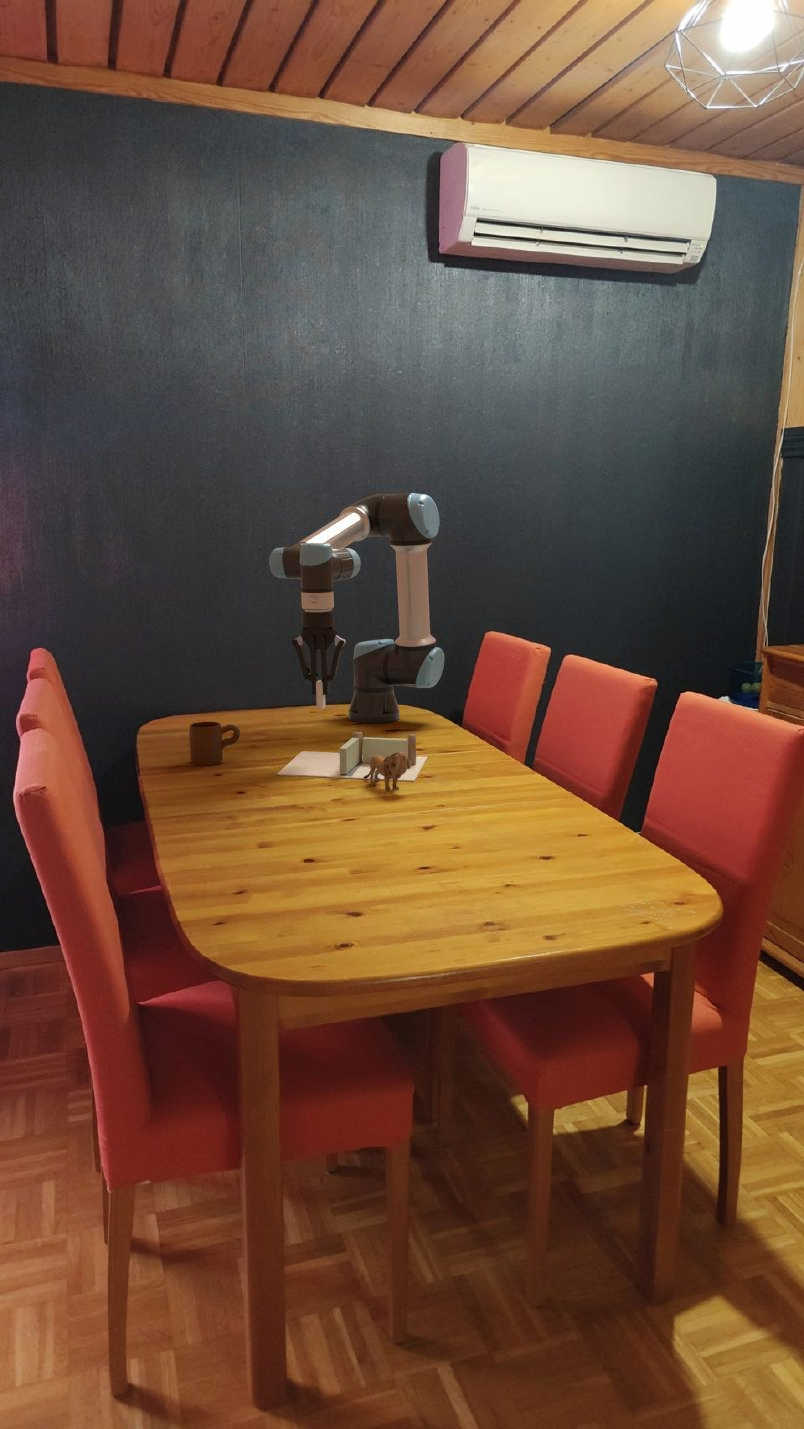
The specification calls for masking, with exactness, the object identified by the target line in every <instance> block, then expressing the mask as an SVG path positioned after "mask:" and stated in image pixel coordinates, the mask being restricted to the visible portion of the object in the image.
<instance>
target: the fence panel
mask: <svg viewBox="0 0 804 1429" xmlns="http://www.w3.org/2000/svg"><path fill="white" fill-rule="evenodd" d="M339 753H340V774H347V773H348V772H349V771H350V770H352V769H353V768H354V767H355V766H356V765H357V764H358V763H359V738H350V739H349V740H348V741H346V742H345V743H344V744H343V745H342V746H340V747H339Z"/></svg>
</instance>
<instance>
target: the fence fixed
mask: <svg viewBox="0 0 804 1429" xmlns="http://www.w3.org/2000/svg"><path fill="white" fill-rule="evenodd" d="M351 733H352V734H351V735H352V736H351V737H352V738H359V763H361V762H363V763H370V762H371V758H372V757H373V756H374V755H376V754H377V755H381V756H383V758H384V759H386V757H387V756H390V755H392V754H394V753H397V752H405V754H406V757H407V758H408V759H409V760H411V761H412V765H416V756H417V734H415V733H409V734H408V735H407V738H392V737H391V738H389V737H370V736H369V737H367V736H366V737H365V736H363V732H362V731H353V732H351ZM352 738H351V739H352ZM362 754H363V759H362Z"/></svg>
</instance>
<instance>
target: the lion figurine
mask: <svg viewBox="0 0 804 1429" xmlns="http://www.w3.org/2000/svg"><path fill="white" fill-rule="evenodd" d="M411 765H412V761H411V760H409V759H408V758H407V757H406V754H405V752H397V753H394V754H392V755H390V756H387V757H386V759H384V758H383V756H381V755H377V754H376V755H374V756H373V757H372V758H371V762H370V769H371V770H370V772H369V774H368V775H366V776H364V778H368V777H369V776H370V775H371V776H370V780H369V787H371V786H372V787H373V786H375V785H376V784H375V782H377V781H378V782H380V781H381V780H380V779H379V778H378V774H381V775H382V776H384V779H385V780H384V789H385V790H384V792H385V793H391V787H390V781H389V780H390V779H393V781H392V784H391V785H392V789H393V790H394V791H398V790H399V789H400V788H399V786H398V785H397V783H398V781H397V780H398V779H399V778H400V777H401V775H402V774H404V773H405V772H406V771H407V769H410V766H411ZM376 769H377V770H376ZM375 770H376V771H375ZM374 773H375V775H374ZM373 778H374V780H373ZM374 781H375V782H374Z"/></svg>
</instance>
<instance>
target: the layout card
mask: <svg viewBox="0 0 804 1429" xmlns="http://www.w3.org/2000/svg"><path fill="white" fill-rule="evenodd" d="M428 758H429V756H417V755H416V765H411V766H410V769H407V771H406V772H405V773H404V774H402V775H401V777H400V778H399V779H398V780H397V782H409V783H410V782H412V783H414V782H415V781H416V780H417V778H418V776H419V774H420V772H421V770H422V768H423V767H424V765H425V764H426V761H427V760H428ZM362 759H363V753H362ZM370 770H371V769H370V763H363V762H361V763H358V764H357V765H356V766H355V767H354V768H353V769H352V770H350V771H349V772H348V773H347V774H340V752H330V751H329V752H326V751H325V752H324V751H307V750H304V751H301V752H299V753H298V754H297V755H296V756H295V757H294V758H293V759H292V760H290V762H289V763H288V764H286V765H285V766H283V768H281V770H280V771H278V772H277V773H276V776H287V777H289V776H291V777H308V778H309V777H310V778H311V777H312V778H313V777H314V778H327V779H328V778H330V779H332V778H333V779H350V780H352V779H353V780H367V781H368V780H369V781H370V776H371V775H370V776H369V777H368V778H364V776H366V775H368V774H369V772H370ZM376 770H377V769H376ZM376 770H375V771H376ZM374 775H375V773H374ZM378 778H379V779H380V780H379V781H385V779H384V776H382V775H381V774H378ZM373 781H375V780H374V778H373ZM390 781H392V782H393V779H390V780H389V782H390Z"/></svg>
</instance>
